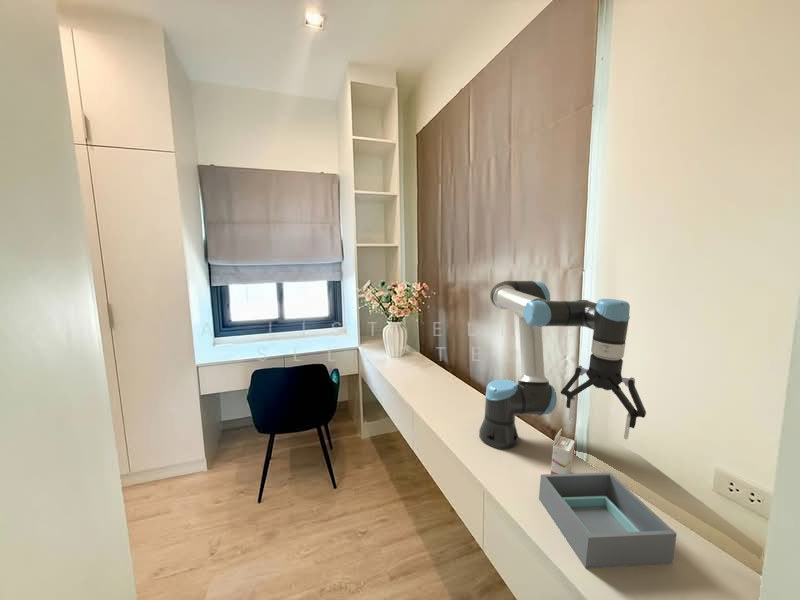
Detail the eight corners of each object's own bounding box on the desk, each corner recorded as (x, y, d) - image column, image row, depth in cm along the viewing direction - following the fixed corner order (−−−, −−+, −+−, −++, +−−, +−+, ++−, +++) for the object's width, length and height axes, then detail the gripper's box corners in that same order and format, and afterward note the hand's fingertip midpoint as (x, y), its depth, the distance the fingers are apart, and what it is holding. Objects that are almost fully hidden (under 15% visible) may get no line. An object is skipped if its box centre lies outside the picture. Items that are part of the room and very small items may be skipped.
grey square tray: (538, 498, 98) (540, 474, 97) (607, 496, 99) (610, 472, 98) (585, 567, 76) (588, 537, 75) (672, 563, 78) (676, 533, 77)
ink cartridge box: (566, 485, 104) (570, 443, 102) (549, 478, 107) (553, 437, 105) (572, 472, 110) (576, 432, 108) (556, 466, 113) (560, 427, 112)
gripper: (554, 348, 93) (547, 416, 97) (664, 371, 77) (651, 452, 81) (561, 343, 99) (554, 407, 102) (665, 363, 83) (653, 439, 86)
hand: (597, 427), depth 92 cm, fingers open, 13 cm apart
